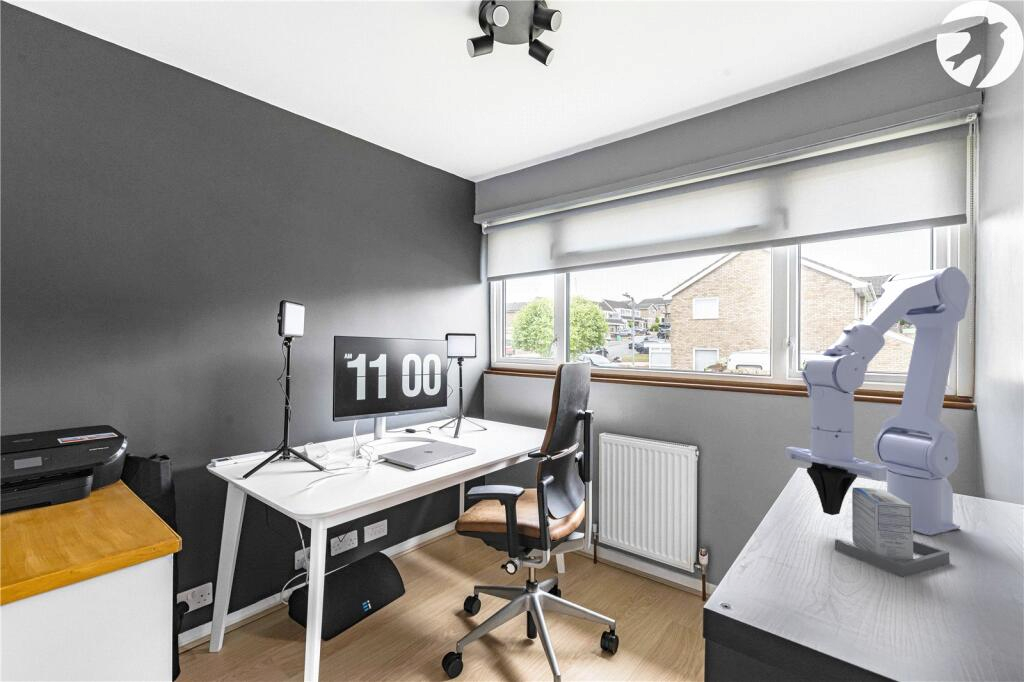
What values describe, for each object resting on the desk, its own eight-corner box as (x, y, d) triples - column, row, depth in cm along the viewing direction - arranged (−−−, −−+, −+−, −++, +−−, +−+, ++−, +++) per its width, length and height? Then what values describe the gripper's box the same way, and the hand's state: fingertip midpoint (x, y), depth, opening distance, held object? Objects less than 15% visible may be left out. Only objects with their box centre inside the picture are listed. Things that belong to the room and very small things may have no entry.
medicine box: (914, 569, 62) (914, 506, 62) (875, 564, 63) (876, 502, 63) (885, 545, 69) (885, 488, 70) (851, 541, 71) (851, 486, 71)
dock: (880, 538, 72) (880, 529, 72) (949, 562, 64) (949, 552, 64) (834, 549, 68) (834, 539, 68) (902, 577, 60) (902, 565, 60)
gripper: (773, 423, 79) (773, 501, 79) (866, 439, 65) (866, 533, 65) (800, 421, 82) (800, 496, 81) (895, 436, 68) (894, 526, 68)
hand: (831, 513), depth 73 cm, fingers closed
